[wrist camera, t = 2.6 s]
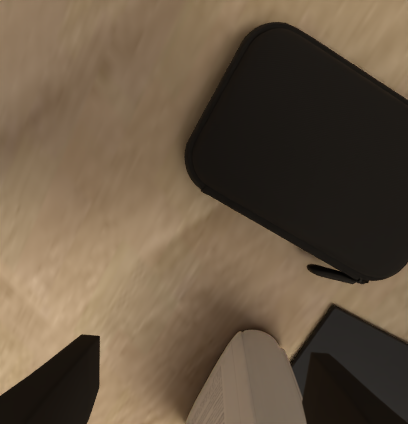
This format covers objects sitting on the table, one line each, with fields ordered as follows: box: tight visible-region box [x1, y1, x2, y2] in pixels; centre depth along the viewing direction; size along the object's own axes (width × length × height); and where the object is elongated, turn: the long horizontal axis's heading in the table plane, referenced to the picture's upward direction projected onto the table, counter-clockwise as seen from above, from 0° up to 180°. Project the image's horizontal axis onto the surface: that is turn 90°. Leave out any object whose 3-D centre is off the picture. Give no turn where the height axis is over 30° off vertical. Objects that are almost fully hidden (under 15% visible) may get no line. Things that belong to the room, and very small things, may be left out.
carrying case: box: [185, 22, 408, 284], centre depth 18 cm, size 11×3×15 cm
